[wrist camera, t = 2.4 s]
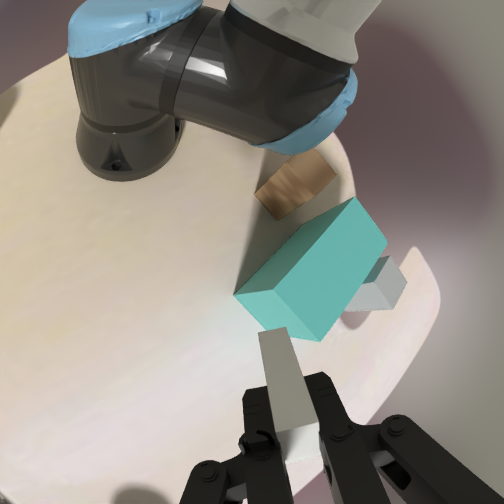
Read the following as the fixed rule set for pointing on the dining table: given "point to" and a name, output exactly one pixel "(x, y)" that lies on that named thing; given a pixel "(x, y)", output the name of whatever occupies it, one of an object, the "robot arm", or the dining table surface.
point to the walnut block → (295, 183)
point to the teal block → (315, 272)
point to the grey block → (379, 287)
